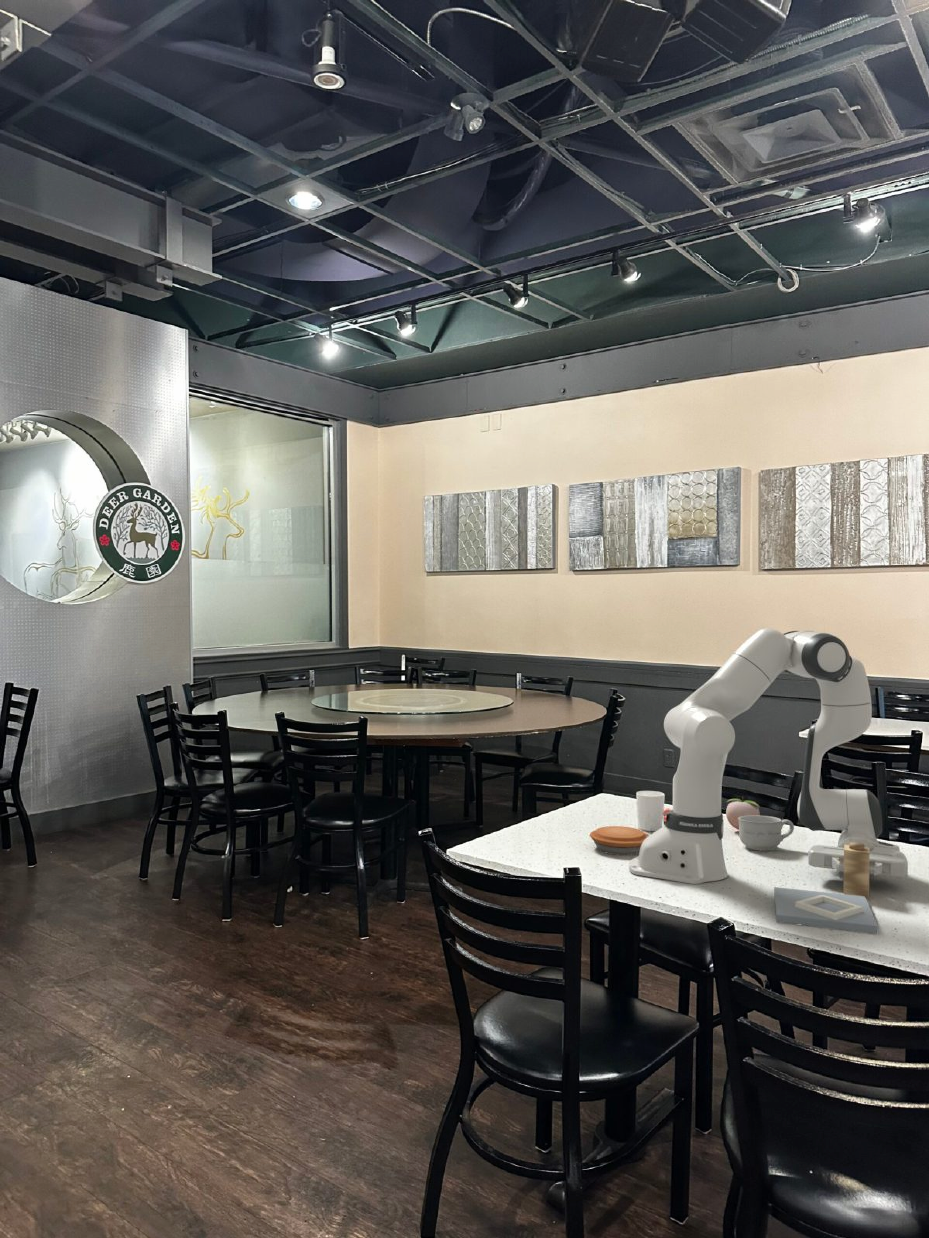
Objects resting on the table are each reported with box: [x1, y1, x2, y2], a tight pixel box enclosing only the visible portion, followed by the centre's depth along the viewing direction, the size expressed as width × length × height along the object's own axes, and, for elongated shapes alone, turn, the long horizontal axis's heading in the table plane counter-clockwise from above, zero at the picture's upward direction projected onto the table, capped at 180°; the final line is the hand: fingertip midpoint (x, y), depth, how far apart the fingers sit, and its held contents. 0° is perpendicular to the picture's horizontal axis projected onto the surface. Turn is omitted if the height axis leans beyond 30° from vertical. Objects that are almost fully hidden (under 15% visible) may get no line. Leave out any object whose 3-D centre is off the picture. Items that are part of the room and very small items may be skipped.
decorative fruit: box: [725, 796, 761, 831], centre depth 239 cm, size 9×8×10 cm
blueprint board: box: [773, 886, 878, 935], centre depth 173 cm, size 18×18×2 cm
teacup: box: [738, 815, 795, 852], centre depth 222 cm, size 14×11×8 cm
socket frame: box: [795, 895, 863, 920], centre depth 171 cm, size 9×9×1 cm
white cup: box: [635, 790, 666, 832], centre depth 243 cm, size 8×8×10 cm
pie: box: [589, 825, 650, 856], centre depth 221 cm, size 16×16×5 cm
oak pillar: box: [843, 842, 870, 900], centre depth 185 cm, size 5×5×11 cm
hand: (856, 869), depth 184 cm, fingers closed on oak pillar, 5 cm apart
